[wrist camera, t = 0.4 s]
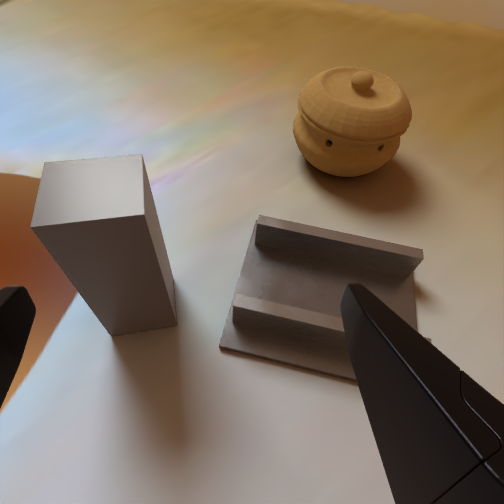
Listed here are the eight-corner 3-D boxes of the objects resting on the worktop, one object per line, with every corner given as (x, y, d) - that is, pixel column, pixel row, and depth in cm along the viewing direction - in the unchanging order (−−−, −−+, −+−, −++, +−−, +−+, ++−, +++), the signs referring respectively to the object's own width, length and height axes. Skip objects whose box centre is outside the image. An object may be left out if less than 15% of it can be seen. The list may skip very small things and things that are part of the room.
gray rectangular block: (177, 325, 27) (144, 214, 16) (111, 336, 26) (30, 227, 15) (172, 273, 29) (141, 150, 19) (112, 282, 28) (45, 158, 18)
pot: (347, 120, 45) (374, 38, 37) (407, 175, 39) (454, 92, 31) (270, 141, 41) (281, 55, 33) (323, 205, 35) (352, 119, 27)
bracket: (418, 396, 24) (443, 384, 22) (219, 347, 26) (218, 329, 23) (409, 255, 32) (426, 232, 29) (255, 223, 33) (258, 197, 30)
